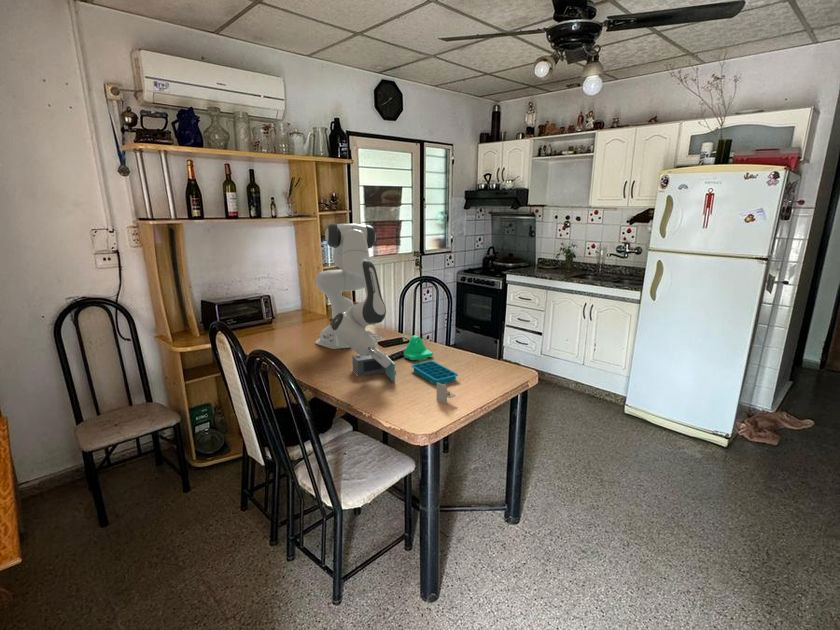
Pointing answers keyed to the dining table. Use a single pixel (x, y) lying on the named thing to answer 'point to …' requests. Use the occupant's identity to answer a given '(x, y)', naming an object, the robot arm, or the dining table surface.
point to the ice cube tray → (434, 372)
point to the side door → (390, 370)
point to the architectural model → (443, 393)
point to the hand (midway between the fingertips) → (387, 364)
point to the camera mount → (417, 349)
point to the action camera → (366, 365)
